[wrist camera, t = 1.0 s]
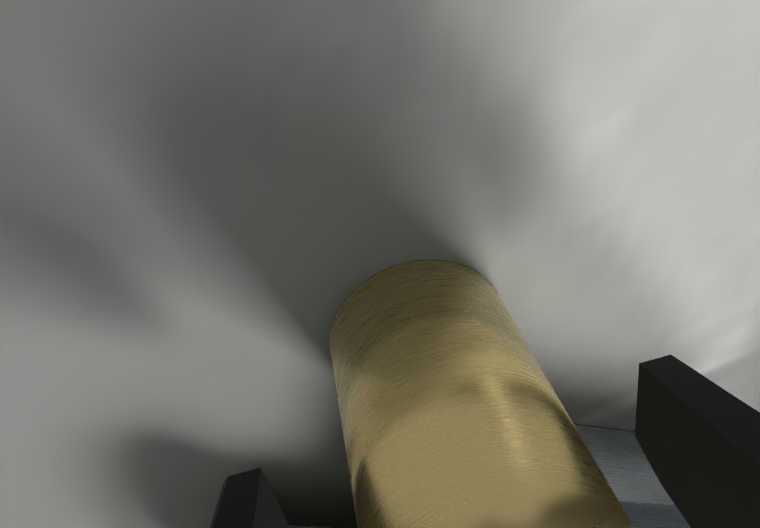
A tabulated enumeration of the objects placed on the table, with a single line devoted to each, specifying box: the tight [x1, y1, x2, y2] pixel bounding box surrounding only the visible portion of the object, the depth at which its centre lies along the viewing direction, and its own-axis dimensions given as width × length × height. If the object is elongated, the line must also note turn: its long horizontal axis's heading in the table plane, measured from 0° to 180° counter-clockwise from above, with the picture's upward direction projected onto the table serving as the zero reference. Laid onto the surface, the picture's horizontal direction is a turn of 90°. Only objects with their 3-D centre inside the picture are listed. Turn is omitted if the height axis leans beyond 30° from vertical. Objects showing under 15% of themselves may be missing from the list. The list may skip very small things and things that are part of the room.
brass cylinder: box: [330, 260, 633, 528], centre depth 12 cm, size 4×4×6 cm
